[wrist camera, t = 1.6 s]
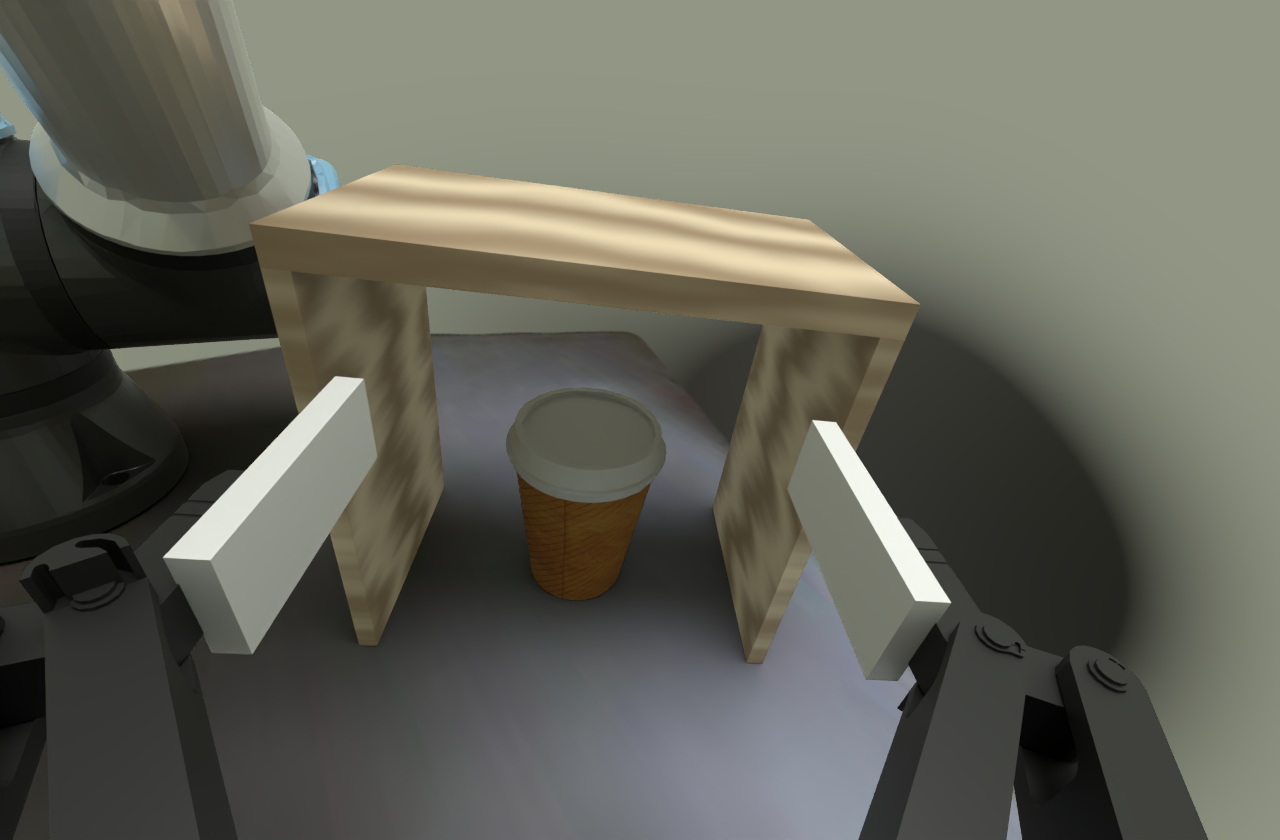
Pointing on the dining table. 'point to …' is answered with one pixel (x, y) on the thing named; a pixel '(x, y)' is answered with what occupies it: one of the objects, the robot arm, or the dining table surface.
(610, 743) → the dining table surface
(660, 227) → the plywood stool
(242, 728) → the dining table surface
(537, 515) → the disposable coffee cup
